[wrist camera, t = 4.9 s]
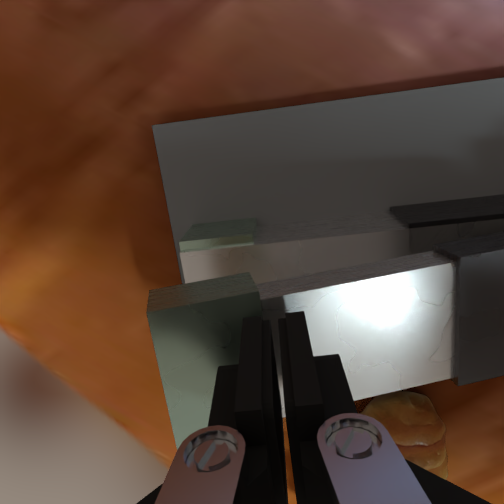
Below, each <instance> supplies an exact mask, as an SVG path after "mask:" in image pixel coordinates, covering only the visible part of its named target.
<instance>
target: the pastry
mask: <svg viewBox="0 0 504 504" xmlns="http://www.w3.org/2000/svg"><path fill="white" fill-rule="evenodd" d="M360 414H364V415H366V416H369V417H372V418H374V419H375V420H377V421H379V422H380V423H381V424H382V425H383V426H384V427H385V428H386V429H387V431H388V432H389V434H390V436H391V437H392V439H393V441H394V442H395V444H396V446H397V447H398V449H399V450H400V452H401V454H402V455H403V457H404V459H406V460H408V461H410V462H412V463H414V464H416V465H418V466H420V467H422V468H424V469H426V470H428V471H429V472H431V473H433V474H435V475H437V476H439V477H441V478H443V479H445V480H446V479H447V476H448V469H447V462H448V456H447V453H446V447H445V433H446V427H445V424H444V423H443V421H442V419H441V418H440V417H439V415H438V414H437V412H436V411H435V408H434V406H433V404H432V403H431V401H430V399H429V398H428V397H427V396H426V395H423V394H418V393H415V392H410V391H397V392H390V393H386V394H381V395H378V396H376V397H375V398H374V399H373V400H371V401H370V402H369V404H368V405H367V406H366V407H365V409H364V410H363V411H362V412H361V413H360Z"/></svg>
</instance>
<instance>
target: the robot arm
mask: <svg viewBox="0 0 504 504" xmlns="http://www.w3.org/2000/svg"><path fill="white" fill-rule="evenodd" d="M278 326H279V339H280V353H281V367H282V380H283V394H284V406H285V415H286V423H287V431H288V438H289V446H290V454H291V461H292V469H293V476H294V484H295V492H296V499H297V504H491V503H489V502H487V501H485V500H483V499H481V498H480V497H478V496H476V495H474V494H472V493H470V492H468V491H466V490H464V489H462V488H460V487H458V486H456V485H454V484H453V483H451V482H449V481H447V480H445V479H443V478H441V477H439V476H437V475H435V474H433V473H431V472H429V471H428V470H426V469H424V468H422V467H420V466H418V465H416V464H414V463H412V462H410V461H408V460H406V459H404V457H403V455H402V454H401V452H400V450H399V449H398V447H397V446H396V444H395V442H394V441H393V439H392V437H391V436H390V434H389V432H388V431H387V429H386V428H385V427H384V426H383V425H382V424H381V423H380V422H379V421H377V420H375V419H374V418H372V417H369V416H366V415H364V414H358V413H357V410H356V407H355V404H354V400H353V397H352V394H351V391H350V387H349V384H348V381H347V378H346V375H345V371H344V368H343V365H342V362H341V358H340V356H339V354H332V355H322V356H313V352H312V347H311V342H310V337H309V332H308V328H307V323H306V318H305V313H304V311H299V312H290V313H285V318H281V319H278ZM137 504H288V494H287V479H286V463H285V448H284V432H283V417H282V405H281V397H280V389H279V382H278V374H277V367H276V359H275V352H274V344H273V337H272V330H271V322H270V320H263V317H262V316H253V317H244V318H243V320H242V331H241V342H240V353H239V364H234V365H224V366H219V367H218V369H217V375H216V380H215V386H214V392H213V398H212V404H211V410H210V416H209V421H208V427H205V428H202V429H199V430H197V431H196V432H194V433H192V434H190V435H189V436H188V437H187V438H186V439H185V440H184V441H183V442H182V443H181V445H180V447H179V448H178V450H177V452H176V455H175V457H174V459H173V462H172V464H171V466H170V469H169V471H168V473H167V476H166V478H165V480H164V483H163V484H161V485H160V486H159V487H158V488H156V489H155V490H154V491H152V492H151V493H150V494H148V495H147V496H146V497H145V498H143V499H142V500H141V501H139V502H138V503H137Z"/></svg>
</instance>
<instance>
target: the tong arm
mask: <svg viewBox="0 0 504 504" xmlns="http://www.w3.org/2000/svg"><path fill="white" fill-rule="evenodd" d="M299 311H304V313H305V318H306V323H307V328H308V332H309V337H310V342H311V347H312V352H313V356H322V355H332V354H339V356H340V358H341V362H342V365H343V368H344V371H345V375H346V378H347V381H348V384H349V387H350V391H351V394H352V397H353V400H354V401H356V400H360V399H364V398H369V397H373V396H377V395H381V394H386V393H390V392H394V391H399V390H403V389H407V388H411V387H416V386H420V385H424V384H429V383H433V382H437V381H441V380H446V379H451V380H452V381H453V382H454V383H455V384H456V385H457V386H461V385H466V384H470V383H474V382H478V381H483V380H487V379H491V378H495V377H499V376H504V232H499V233H493V234H488V235H483V236H477V237H472V238H467V239H461V240H456V241H451V242H445V243H440V244H435V245H433V251H429V252H423V253H418V254H413V255H408V256H402V257H397V258H392V259H386V260H381V261H376V262H371V263H365V264H360V265H355V266H349V267H344V268H339V269H334V270H328V271H323V272H318V273H313V274H307V275H302V276H297V277H291V278H286V279H281V280H276V281H270V282H265V283H260V284H255V282H254V280H253V278H252V277H251V275H250V273H249V272H245V273H240V274H234V275H229V276H224V277H218V278H213V279H207V280H202V281H197V282H191V283H186V284H180V285H175V286H170V287H164V288H159V289H153V290H149V297H148V304H147V312H146V313H147V318H148V322H149V326H150V331H151V335H152V340H153V344H154V349H155V353H156V358H157V362H158V366H159V371H160V375H161V380H162V384H163V389H164V393H165V398H166V402H167V406H168V411H169V415H170V420H171V424H172V429H173V433H174V438H175V442H176V446H177V450H178V448H179V447H180V445H181V443H182V442H183V441H184V440H185V439H186V438H187V437H188V436H189V435H190V434H192V433H194V432H196V431H197V430H199V429H202V428H205V427H208V421H209V416H210V410H211V404H212V398H213V392H214V386H215V380H216V375H217V369H218V367H219V366H224V365H234V364H239V353H240V342H241V331H242V320H243V318H244V317H253V316H262V317H263V320H270V322H271V330H272V337H273V344H274V352H275V359H276V367H277V374H278V382H279V389H280V397H281V405H282V417H286V415H285V406H284V394H283V380H282V367H281V353H280V339H279V326H278V319H281V318H285V313H290V312H299Z"/></svg>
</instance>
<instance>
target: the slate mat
mask: <svg viewBox="0 0 504 504" xmlns="http://www.w3.org/2000/svg"><path fill="white" fill-rule="evenodd" d="M152 129H153V134H154V139H155V145H156V150H157V155H158V160H159V165H160V171H161V176H162V181H163V186H164V191H165V197H166V202H167V207H168V212H169V217H170V223H171V228H172V233H173V238H174V243H175V248H176V254H177V259H178V264H179V269H180V274H181V280H182V284H185V279H184V274H183V268H182V263H181V258H180V252H181V251H180V245H179V241H180V240H181V239H182V237H183V236H184V235H185V233H186V232H187V231H188V229H189V228H190V227H191V225H193V224H202V223H211V222H220V221H229V220H237V219H246V218H255V217H256V221H257V226H260V225H269V224H278V223H287V222H296V221H305V220H314V219H323V218H333V217H342V216H351V215H360V214H369V213H378V212H387V211H390V207H393V206H402V205H411V204H420V203H429V202H438V201H447V200H456V199H465V198H474V197H483V196H492V195H501V194H504V77H503V78H496V79H488V80H481V81H474V82H466V83H459V84H452V85H444V86H437V87H430V88H422V89H415V90H408V91H400V92H393V93H386V94H378V95H371V96H364V97H356V98H349V99H342V100H334V101H327V102H320V103H312V104H305V105H297V106H290V107H283V108H275V109H268V110H261V111H253V112H246V113H239V114H231V115H224V116H217V117H209V118H202V119H195V120H187V121H180V122H173V123H165V124H158V125H152Z"/></svg>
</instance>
